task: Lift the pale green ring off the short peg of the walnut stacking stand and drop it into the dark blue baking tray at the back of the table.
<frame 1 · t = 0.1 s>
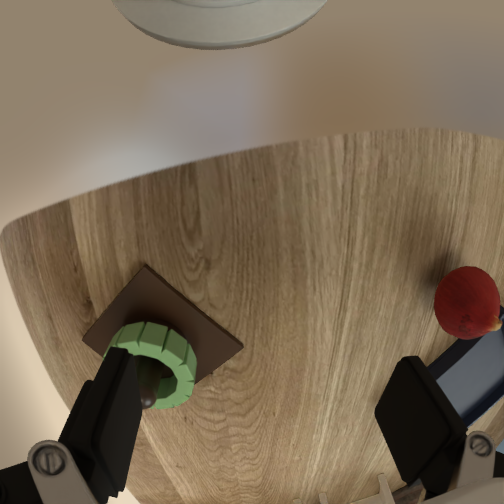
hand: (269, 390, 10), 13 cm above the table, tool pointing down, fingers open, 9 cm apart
stand: (157, 342, 24), on the table
ring: (152, 358, 22), point 2 cm above the table, touching stand
lantern: (403, 493, 43), on the table
tray: (460, 387, 30), on the table
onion: (442, 281, 24), on the table
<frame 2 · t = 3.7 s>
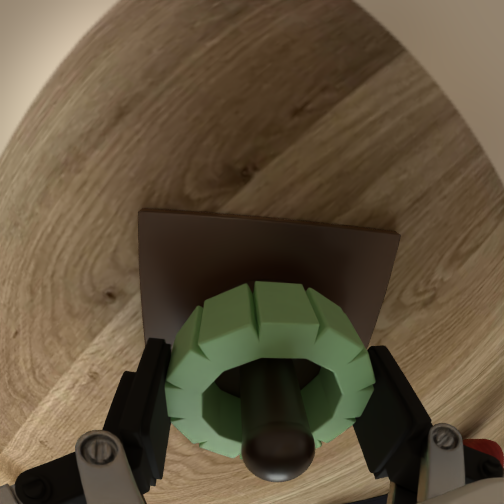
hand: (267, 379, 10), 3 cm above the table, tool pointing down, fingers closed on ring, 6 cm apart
stand: (261, 332, 13), on the table
ring: (265, 362, 11), point 2 cm above the table, touching gripper, stand
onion: (459, 440, 20), on the table
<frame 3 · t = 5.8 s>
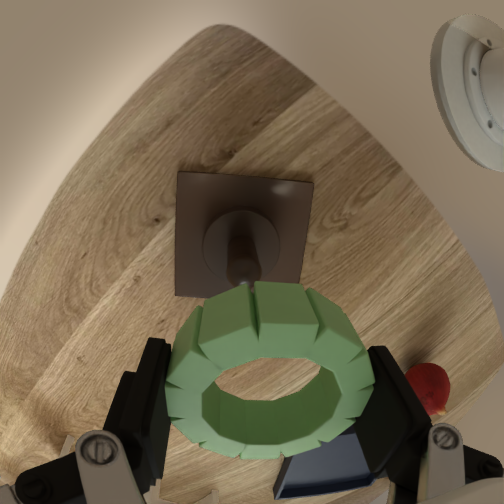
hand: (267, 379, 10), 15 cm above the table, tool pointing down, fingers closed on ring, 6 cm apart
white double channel: (135, 478, 37), on the table
stand: (240, 240, 24), on the table
ring: (265, 361, 11), point 14 cm above the table, touching gripper
tray: (339, 457, 37), on the table
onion: (410, 367, 31), on the table
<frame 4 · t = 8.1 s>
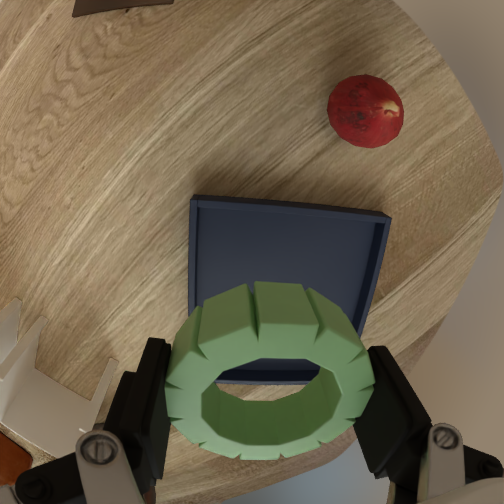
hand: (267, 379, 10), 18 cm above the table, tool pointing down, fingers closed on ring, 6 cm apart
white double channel: (27, 336, 31), on the table
bread: (2, 447, 43), on the table
ring: (265, 362, 11), point 17 cm above the table, touching gripper
tray: (280, 299, 30), on the table
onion: (348, 113, 24), on the table
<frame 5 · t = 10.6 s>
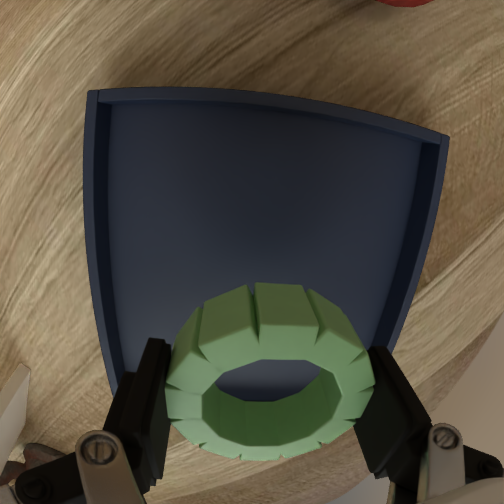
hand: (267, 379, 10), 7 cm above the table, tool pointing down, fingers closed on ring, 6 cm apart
ring: (265, 363, 11), point 6 cm above the table, touching gripper
lantern: (63, 467, 26), on the table
tray: (256, 283, 17), on the table
when the fingers open (1 cm above the table, at t = 12.6 s): ring stays where it is, resting on tray.
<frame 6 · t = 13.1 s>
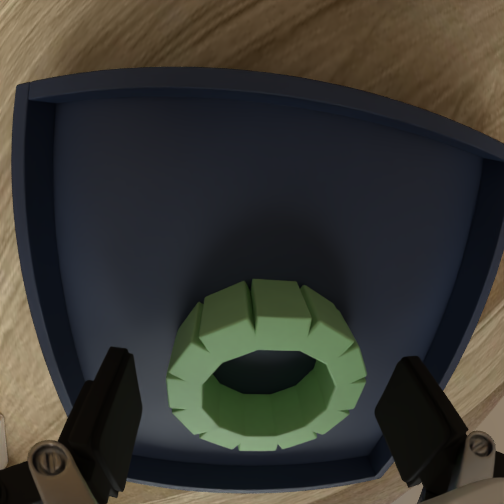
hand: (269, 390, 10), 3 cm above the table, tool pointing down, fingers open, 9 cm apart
ring: (262, 356, 12), resting on tray
tray: (262, 348, 12), on the table
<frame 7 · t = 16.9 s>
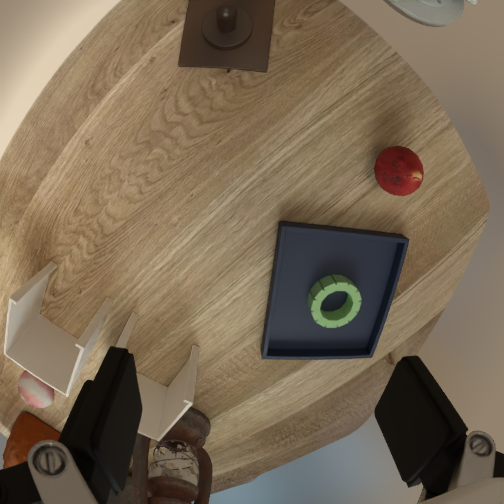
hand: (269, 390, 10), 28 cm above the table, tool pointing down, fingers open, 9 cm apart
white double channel: (111, 331, 42), on the table
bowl: (142, 479, 59), on the table
stand: (227, 30, 28), on the table
bread: (42, 440, 54), on the table
ring: (331, 297, 41), resting on tray
lantern: (180, 422, 50), on the table
tray: (331, 295, 41), on the table
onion: (384, 167, 35), on the table
onion 2: (44, 376, 45), on the table
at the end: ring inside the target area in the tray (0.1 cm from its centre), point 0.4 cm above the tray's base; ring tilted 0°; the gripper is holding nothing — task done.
